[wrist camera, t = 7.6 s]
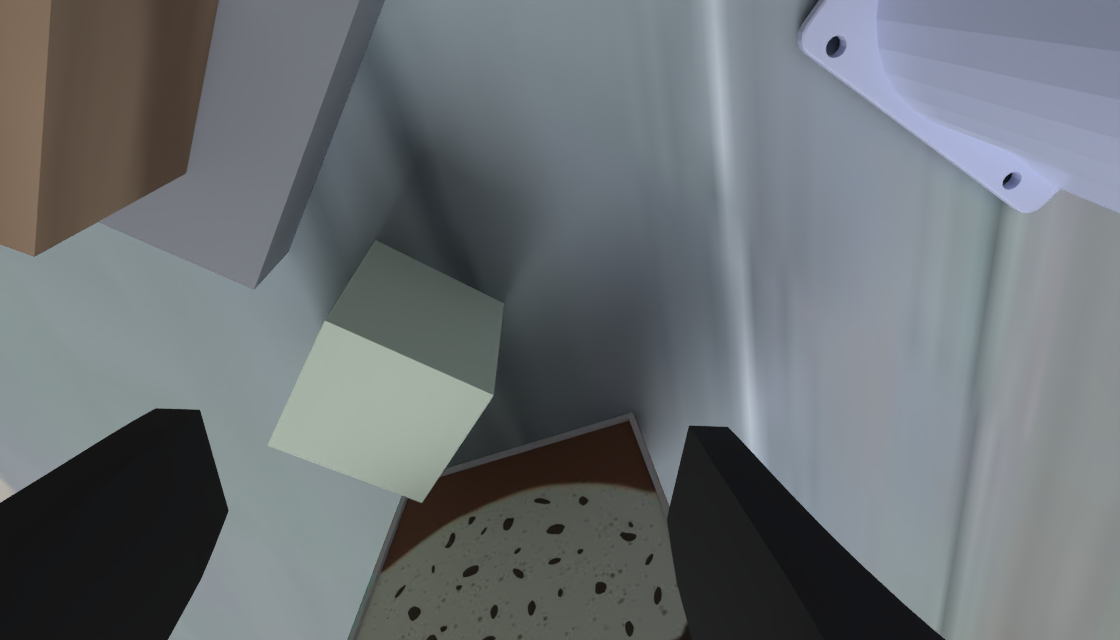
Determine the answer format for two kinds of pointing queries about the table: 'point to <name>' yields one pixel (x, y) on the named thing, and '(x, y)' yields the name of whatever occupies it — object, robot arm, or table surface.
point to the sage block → (394, 375)
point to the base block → (257, 134)
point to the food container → (533, 548)
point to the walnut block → (94, 108)
